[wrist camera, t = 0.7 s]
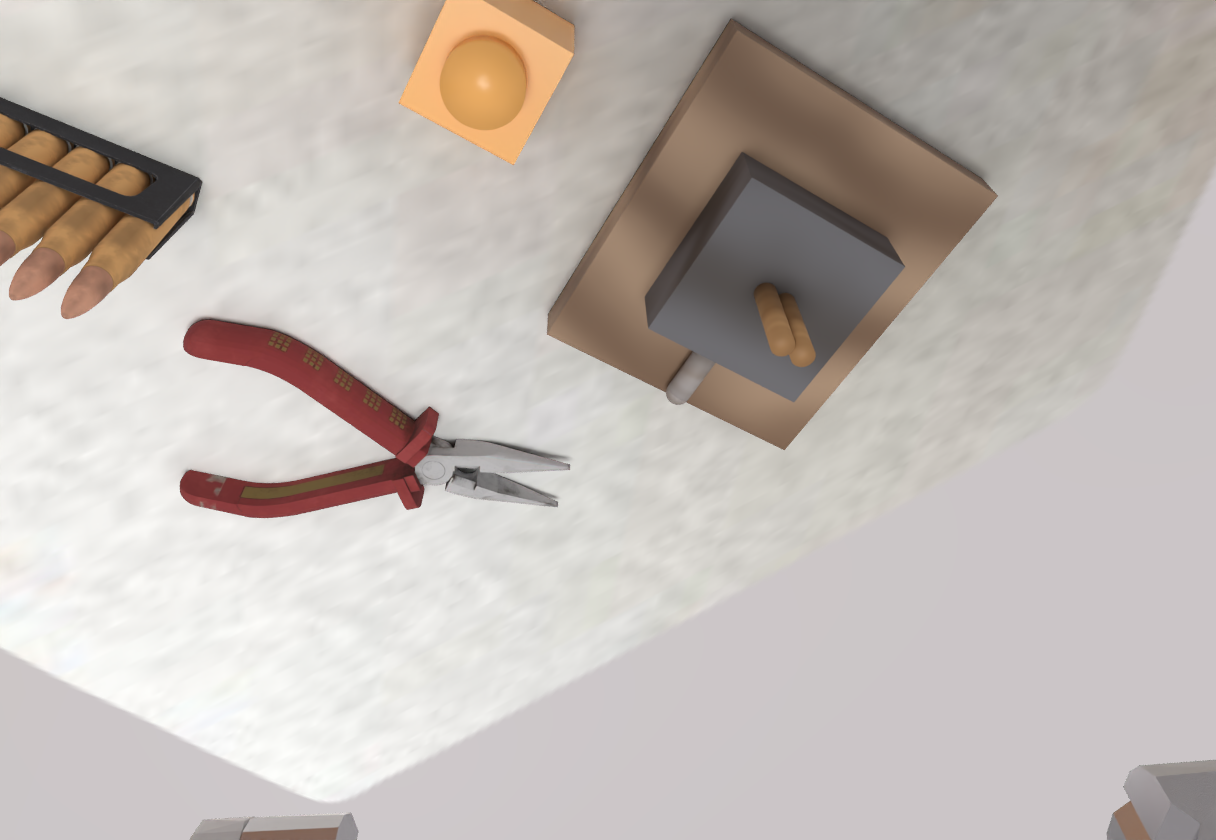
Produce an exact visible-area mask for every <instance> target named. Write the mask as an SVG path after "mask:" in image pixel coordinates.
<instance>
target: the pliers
mask: <svg viewBox="0 0 1216 840" xmlns="http://www.w3.org/2000/svg"><path fill="white" fill-rule="evenodd" d="M183 347H184V350H185V351H186V352H187V353H188V354H190V355H192V356H195V357H198V358H202V359H207V360H213V361H219V362H225V363H230V364H236V365H242V366H249V367H252V368H256V369H259V370H262V371H265V372H268V373H270V374H273V375H275V376H277V377H279V378H281V379H283V380H285V381H287V382H289V383H290V384H292V385H294V386H295V387H297V388H299V389H300V390H301V391H303V392H304V393H306V394H307V395H309V396H310V397H312V398H313V399H315V400H316V401H317V402H319V403H320V404H322V405H323V406H325V407H326V408H328V409H329V410H330V411H332V412H333V413H335V414H336V415H338V416H339V417H341V418H342V419H343V420H345V421H346V422H348V423H349V424H351V425H352V426H354V427H355V428H356V429H358V430H359V431H361V432H362V433H364V434H365V435H367V436H368V437H370V438H371V439H372V440H374V441H375V442H377V443H378V444H380V445H381V446H383V447H384V448H385V449H387V450H388V451H390V452H391V453H393V454H394V455H396V456H395V457H396V458H393V459H389V460H385V461H380V462H376V463H371V464H367V465H363V466H358V467H354V468H349V469H345V470H341V471H336V472H332V473H327V474H323V475H319V476H314V477H310V478H305V479H301V480H297V481H291V482H283V483H254V482H247V481H242V480H237V479H232V478H227V477H223V476H218V475H213V474H208V473H203V472H198V471H193V470H189V471H188V472H186V473H185V474H184V476H183V477H182V479H181V481H180V493H181V495H182V497H183V498H184V499H185V500H186V501H187V502H189V503H190V504H193V505H195V506H200V507H204V508H209V509H214V510H218V511H223V512H227V513H232V514H237V515H241V516H246V517H252V518H274V517H284V516H291V515H298V514H302V513H307V512H311V511H315V510H320V509H324V508H329V507H333V506H338V505H342V504H347V503H351V502H356V501H360V500H365V499H369V498H374V497H378V496H383V495H387V494H392V493H396V492H397V493H398V495H399V497H400V499H401V501H402V503H403V505H404V507H405V508H406V509H407V510H409V509H414V508H419V507H420V506H421V503H422V499H423V494H424V486H423V485H441V484H444V483H446V488H445V491H447V492H451V493H454V494H457V495H461V496H466V497H470V498H474V499H484V500H493V501H503V502H513V503H523V504H532V505H542V506H552V507H558V502H557V501H555V500H553V499H550V498H548V497H546V496H544V495H542V494H539V493H537V492H535V491H533V490H530V489H528V488H526V487H524V486H522V485H519V484H517V483H515V482H513V481H511V480H508V479H506V478H504V477H502V476H500V475H497V474H494V473H515V472H535V471H555V470H570V464H566V463H563V462H559V461H555V460H552V459H548V458H544V457H541V456H537V455H533V454H530V453H526V452H522V451H519V450H515V449H511V448H508V447H504V446H500V445H497V444H493V443H489V442H484V441H476V440H468V439H456V443H455V447H454V448H453V446H452V445H451V444H450V443H449V442H447V441H445V440H442V439H440V438H437V437H434V436H433V434H434V432H435V430H436V426H437V421H438V416H439V414H438V413H437V412H436V411H434V410H433V409H432V408H430V407H429V408H428V409H426V410H425V411H424V412H423V413H422V414H421V415H420V416H419V417H418V418H417V419H416V420H415V421H414V420H412V419H411V418H409V417H408V416H407V415H405V414H404V413H402V412H401V411H400V410H398V409H397V408H395V407H394V406H393V405H391V404H390V403H388V402H387V401H385V400H384V399H383V398H381V397H380V396H378V395H377V394H376V393H374V392H373V391H371V390H370V389H369V388H367V387H366V386H364V385H363V384H362V383H360V382H359V381H357V380H356V379H355V378H353V377H352V376H350V375H349V374H348V373H346V372H345V371H343V370H342V369H341V368H339V367H338V366H336V365H335V364H334V363H332V362H331V361H329V360H328V359H327V358H325V357H324V356H322V355H321V354H320V353H318V352H316V351H315V350H313V349H312V348H310V347H308V346H306V345H304V344H303V343H301V342H299V341H297V340H295V339H293V338H291V337H289V336H287V335H284V334H282V333H279V332H276V331H273V330H269V329H263V328H257V327H252V326H246V325H240V324H234V323H228V322H222V321H216V320H202V321H199V322H197V323H195V324H193V325H192V326H191V327H190V328H189V329H188V331H187V332H186V334H185V337H184V341H183ZM457 468H475V469H477V470H476V471H475V472H472V473H463V472H461V471H459V470H458V469H457Z"/></svg>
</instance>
